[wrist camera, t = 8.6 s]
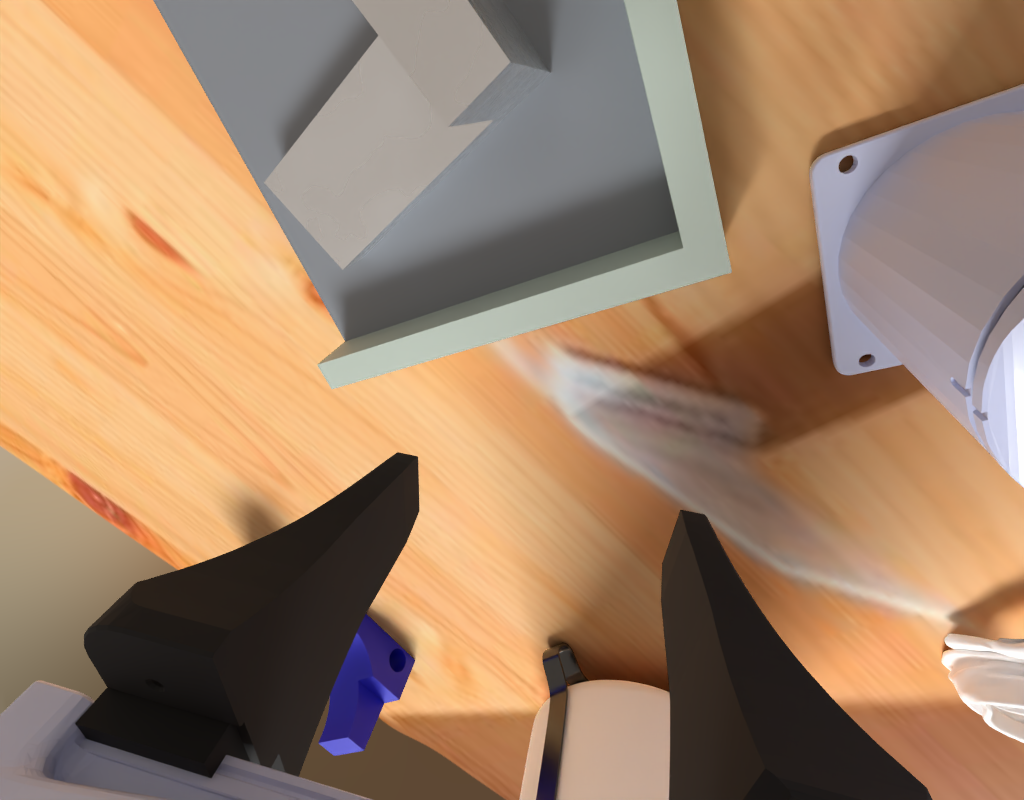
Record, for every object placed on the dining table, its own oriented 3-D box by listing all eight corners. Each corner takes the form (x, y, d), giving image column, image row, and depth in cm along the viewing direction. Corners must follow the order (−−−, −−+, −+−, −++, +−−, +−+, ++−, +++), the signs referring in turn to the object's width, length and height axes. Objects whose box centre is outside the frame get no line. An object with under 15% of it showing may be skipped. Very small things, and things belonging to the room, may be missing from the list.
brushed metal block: (469, -50, 15) (384, -121, 10) (551, 72, 16) (510, 62, 11) (287, 176, 20) (167, 204, 15) (360, 259, 21) (271, 311, 16)
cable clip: (416, 658, 37) (379, 747, 32) (374, 669, 39) (334, 755, 34) (297, 546, 33) (235, 626, 28) (258, 565, 35) (194, 643, 30)
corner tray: (582, -409, 12) (565, -545, 9) (719, 248, 18) (731, 272, 16) (141, -43, 18) (58, -66, 15) (364, 358, 24) (332, 389, 22)
